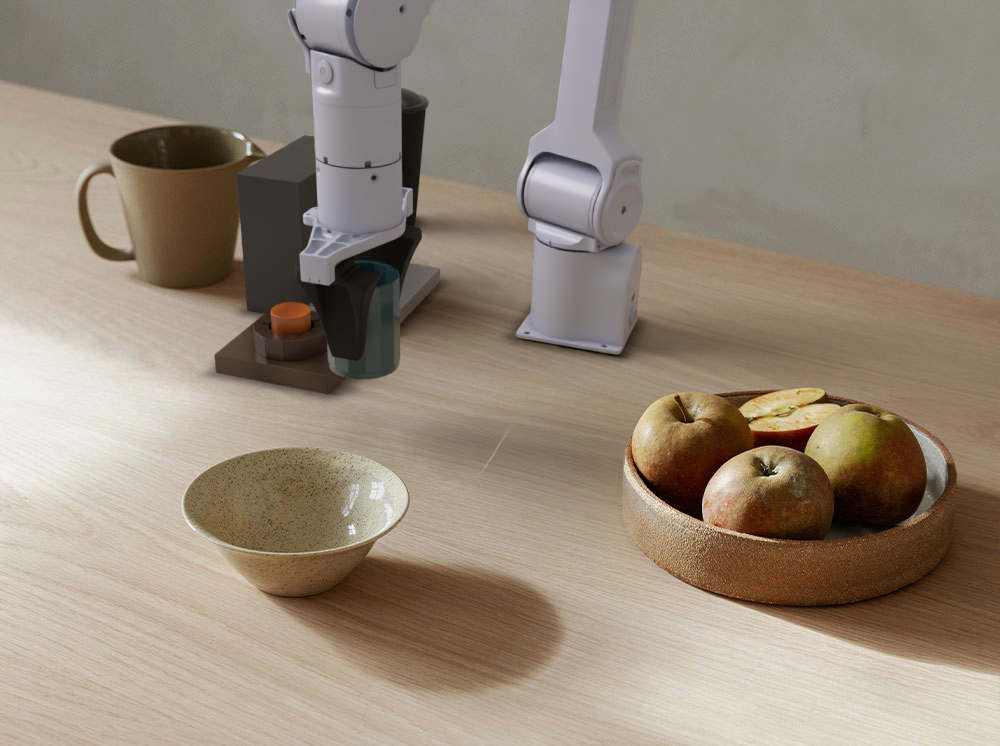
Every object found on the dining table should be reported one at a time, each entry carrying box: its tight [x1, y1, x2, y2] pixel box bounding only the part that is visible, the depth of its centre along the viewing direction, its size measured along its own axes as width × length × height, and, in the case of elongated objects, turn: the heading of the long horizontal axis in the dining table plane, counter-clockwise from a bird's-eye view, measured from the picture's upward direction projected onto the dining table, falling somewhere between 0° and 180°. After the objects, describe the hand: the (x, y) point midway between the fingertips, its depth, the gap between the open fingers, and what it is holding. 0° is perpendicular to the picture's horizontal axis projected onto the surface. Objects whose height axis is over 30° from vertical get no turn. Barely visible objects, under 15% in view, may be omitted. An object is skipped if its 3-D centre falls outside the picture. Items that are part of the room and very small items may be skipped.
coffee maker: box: [236, 134, 441, 325], centre depth 101 cm, size 14×13×13 cm
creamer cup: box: [327, 260, 401, 381], centre depth 79 cm, size 5×5×7 cm
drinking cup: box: [401, 87, 430, 226], centre depth 118 cm, size 8×8×20 cm
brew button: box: [271, 302, 311, 335], centre depth 90 cm, size 3×3×2 cm
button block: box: [214, 311, 344, 395], centre depth 91 cm, size 10×8×4 cm
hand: (363, 339), depth 80 cm, fingers closed on creamer cup, 5 cm apart
